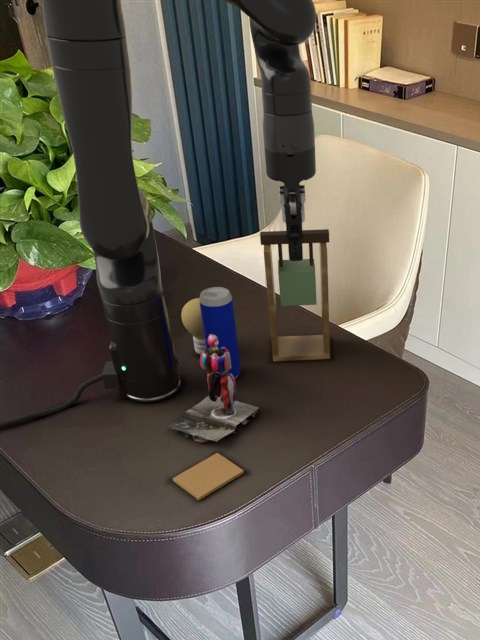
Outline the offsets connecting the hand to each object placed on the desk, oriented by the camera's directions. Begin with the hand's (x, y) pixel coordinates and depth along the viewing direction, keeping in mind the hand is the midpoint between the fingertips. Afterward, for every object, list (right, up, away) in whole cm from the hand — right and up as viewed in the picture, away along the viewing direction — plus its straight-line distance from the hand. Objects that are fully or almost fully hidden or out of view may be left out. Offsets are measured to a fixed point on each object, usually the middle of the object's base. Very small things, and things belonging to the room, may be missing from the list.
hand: (295, 251), depth 118 cm
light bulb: (-17, -15, +12) cm, 25 cm away
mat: (-11, -37, -15) cm, 41 cm away
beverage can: (-12, -20, +6) cm, 24 cm away
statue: (-12, -28, -5) cm, 31 cm away
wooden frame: (0, -14, +12) cm, 18 cm away
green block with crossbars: (0, -7, +5) cm, 8 cm away
